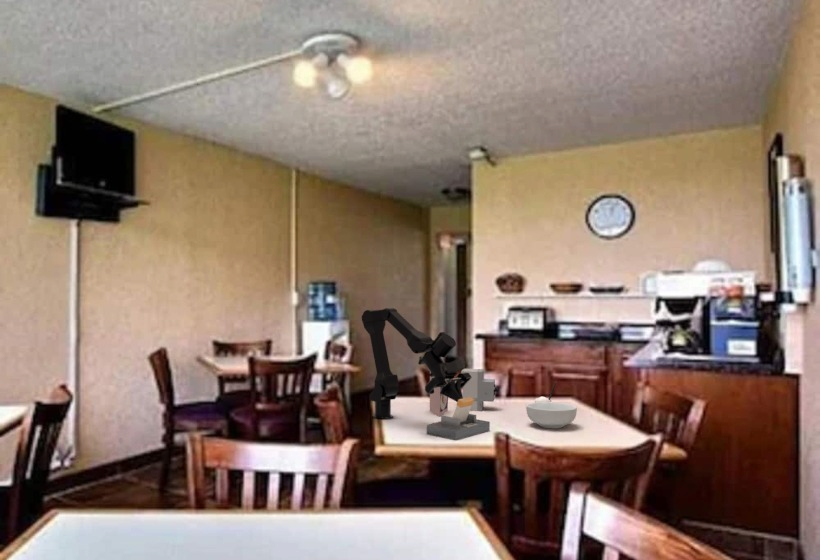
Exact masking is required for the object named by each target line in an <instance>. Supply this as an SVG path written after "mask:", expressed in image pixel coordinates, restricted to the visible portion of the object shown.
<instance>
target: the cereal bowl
mask: <svg viewBox="0 0 820 560" xmlns="http://www.w3.org/2000/svg"><path fill="white" fill-rule="evenodd" d="M525 409H526V414H527V417H528V419H529V420H530V421H532V422H533V423H535V424H538V425H539V426H540V427H541V428H545V429H553V430H554V429H561V428H563V427H564V426H566V425H569V424H571V423H573V422H574V421H575V419H576V417H577V406H576V405H573V404H571V403H566V402H565V403H563V402H556V401H555V402H552V401H551V402H537V403H535V402H532V403H528V404H526V407H525Z"/></svg>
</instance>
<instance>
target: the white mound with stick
mask: <svg viewBox="0 0 820 560" xmlns="http://www.w3.org/2000/svg"><path fill="white" fill-rule="evenodd" d="M556 385H557V381H555V382H554V384H553V386H552V389H551V392H550V395H549V396H548V397H545V396H539V397H537V398H535V399H534V403H537V402H552V400H551V399H552V395H553V393H554V390H555V388H556Z"/></svg>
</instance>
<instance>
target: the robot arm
mask: <svg viewBox="0 0 820 560" xmlns="http://www.w3.org/2000/svg"><path fill="white" fill-rule="evenodd" d="M361 321H362V324H363V325H362V326H363V328H364V330H366V332H367V333H368V335H369V337H370V343H371V348H372V354H373V358H374V359H373V360H374V363H375V365H374V366H375V370H376V376H375V379H374V388H373V390H372V391H371V392H370V393H369V400H370V401H371V402H374V413H372V414H371V415H372V417H374V419H379V420H380V419H381V420H382V419H394V416H393V415H392V414H391V413H392V412H391V406H392V405H391V403H392V400H396V398H397V394H398V392H399V389H400V383H399V377H398V374H394V373H393V372H392V371H391V366H390V361H389V356H388V352H387V346H386V341H385V335H384V331H385V327H386V325H387V324H386V322H388V323H389V324H390V325H391V326H392V327H393V328H394V329H395V330H396V331H397V332H398V333H399V334H400V335H401V336H402V337H403V338H404V339H405V340H406V344H407V346H408V348H409V349H410V350H411V352H412V353H413V354H415V355H416V354H417V355H418V354H423V355H422V356H421V355H420V356H419V358H418V362H417V363H418V365H420V366H421V365H425V366H426V368H427V369H428V371H429V377H430V376H431V377H434V378H432V379H431V380H430V379H429V381H428V382H427V383H426V384H425V386H424V391H425V392H426V394H427V395H429V396H430V394H433V393H434V388H438V387H441V390H442V391H441V392H440V394H443V395H445V396H447V397H448V399H451V400H453V401H454V402H456V403H457V402H458V399H463V396H462V395H463V392H462V389H463V387H464V386H465V385H466V383H467V382H468V381H469V380H470V379H471V378H472V377H471V375H470V374H469V373H466V372H465V373H461V372H460V373H458V372H459V371H462V370H463V369H466V368H465V367H466V361H465V360H464V359H463V358H461V357H460V358H458V359H455V360H453V361H450V362H445V361H444V359H443V358H446V357H448V355H449V354H450V353H451V352H452V350H453V349H454V348H455V347H456V346H457V342H456V340H455V338H453V337H452V336H451V335H449V334H446V333H445V332H444V331H442V332H441V331H440V332H439V333H438V334H437V336H436V338H434V339H432V337H430V336H429V335H427V334H426V333H425V332H423V331H420V330H417V329H416V328H415V327H414V326H413V325H412V324H411V323H410V322H409V321H407V320H406V319H405V317H403V316H402V314H400V313H399V311H398V310H397V309H396V308H394V307H388V308H387V307H385V308H383V309H367V310H364V312H362V315H361ZM430 372H431V373H430Z"/></svg>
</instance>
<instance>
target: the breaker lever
mask: <svg viewBox="0 0 820 560" xmlns="http://www.w3.org/2000/svg"><path fill="white" fill-rule="evenodd" d="M473 402H474V399H472V398H471V397H467V398H463V399H458V402H456V407H455V409H454V413H453V415H452V417H453V418H458V419H460V422H463V421H466V419H467V417H468V414H470V409H471V406H472V405H473Z"/></svg>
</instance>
